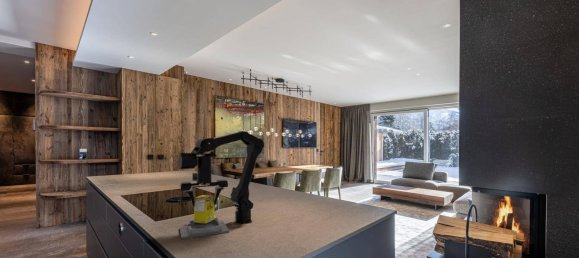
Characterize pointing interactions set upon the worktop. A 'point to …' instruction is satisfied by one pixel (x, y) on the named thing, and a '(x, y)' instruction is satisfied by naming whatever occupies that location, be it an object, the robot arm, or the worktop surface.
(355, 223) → the worktop surface
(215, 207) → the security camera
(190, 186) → the robot arm
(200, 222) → the supplement box
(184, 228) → the plate
